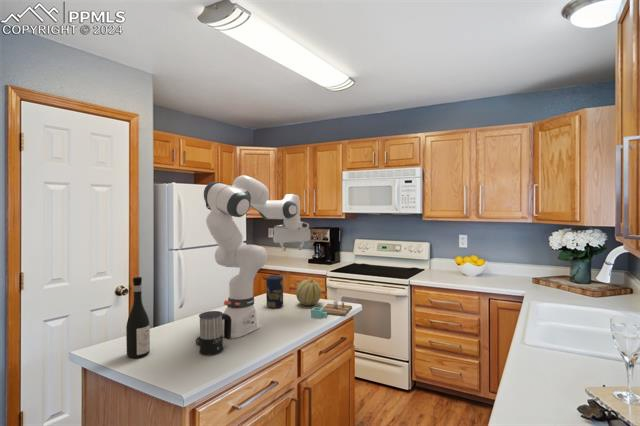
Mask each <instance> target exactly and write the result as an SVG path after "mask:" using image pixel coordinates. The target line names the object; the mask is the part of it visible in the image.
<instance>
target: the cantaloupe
mask: <svg viewBox="0 0 640 426" xmlns="http://www.w3.org/2000/svg"><path fill="white" fill-rule="evenodd" d="M321 296H322V287H321V285H320V284H319V282H317V281H316V280H315V279H310V278H309V279H308V278H307V279H304V280H301V282H299V283H298V285H297V287H296V290H295V297H296V299H297V301H298V302H300V304H302V305H304V306H308V307H309V306H313V305H315V304H317V303H318V302H319V301H320V299H321Z"/></svg>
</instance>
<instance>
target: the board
mask: <svg viewBox="0 0 640 426" xmlns="http://www.w3.org/2000/svg"><path fill="white" fill-rule="evenodd" d="M322 308H324V312H327V316H328V315H329V316H336V317H337V316H338V317H339V316H340V317H346V315H347V314H348V313H349V312H350V311H351V310H352V309H353V305H348V304H347V305H346V304H345V301H341V304H339V302H338V301H337V300H334V301H333V303H327V304H326V305H325V306H323V307H322Z"/></svg>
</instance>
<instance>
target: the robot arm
mask: <svg viewBox="0 0 640 426" xmlns="http://www.w3.org/2000/svg"><path fill="white" fill-rule="evenodd" d="M269 193H270V192H269V188H268V187H267V186H266V185H265V184H264V183H263V182H261V181H259V180H258V179H256V178H254V177H251V176H248V175H245V174H244V175H243V174H242V175H240V176H237V177H236V178H234V180H233V182H232V185H229V184H224V183H222V182H219V181H211V182H209V183H208V184H207V185H206V186H205V187H204V190H203V200H204V202H205V206H206V207H205V208H207V210H209V211H210V213H208V215H207V217H206V219H205V220H206V221H205V223H206V226H207V229H208V231H209V233H210V235H211V236H212V238H213V239H214V241H215V242H216V244H217V246H218V247H217V248H216V249H215V253H214V260H215V262H216V263H217V265H219V266H222V267H226V268H237V269H239V272H238V274H236V275H235V276H233V277H231V279H230V280H229V282H228V289H229V290H228V292H229V293H228V295H229V296H228V299H227V300H224V301H223V305H224V306H226V308H225V309H224V311H223V312H222V313H223V314H227V315H229V316H230V317H231V338H230V339H235V338H237V339H238V338H241V337H243V336H245V335H247V334H249V333H252V332H254V331H257V330H258V329H260V328H261V327H260V325H259V324H258V315H257V309H256V307H255V305H254V304H255V296H254V282H255V277H256V275H257V273H259V272H258V271H259V270H260V269H262V267H264V266H265V265H266V263H267V260H268V252H267V249H266V248H265V247H263V246H259V245H256V244H242V242H243V234H242V232H241V230H240V229H239V227H238V226H237V224H236V222H235V221H234V220H233V217H235V218H242V217H243V216H244V215H246V214H247V213H248V212H249V210H250V208H252V209H254V210H255V211H257V212H258V214H259V215H260V216H261V217H262V219H264V220H283V224H280V225H279V224H276V225H275V226H274V227H273V230H272V232H273V238H272V239H273V242H274V243H275V244H279V246H280V247H281V251H282V252H286V251H287V250H286V247H285V246H284V245H285V244H286V243H298V242H300V246H298V250H299V251H302V250H303V246H304V245H305V242H310V241H311V238H312V236H311V230H310V224H309V223H308V222H304V221H301V215H300V214H301V200H300V197H299V195H298V194H296V193H295V194H294V193H287V194H284V196H283V199H278V200H277V199H276V200H275V199H274V200H273V199H272V200H269V197H270V194H269ZM284 243H285V244H284ZM222 332H223V333H222V334H223V338H224V319H223V320H222Z"/></svg>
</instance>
